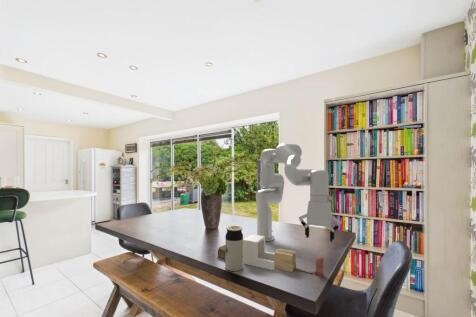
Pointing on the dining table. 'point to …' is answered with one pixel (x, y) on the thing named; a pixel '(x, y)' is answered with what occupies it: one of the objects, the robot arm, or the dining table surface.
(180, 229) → the dining table surface
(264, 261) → the white l-shaped block
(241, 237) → the travel mug
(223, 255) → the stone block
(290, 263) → the oak block with cord
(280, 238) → the dining table surface
